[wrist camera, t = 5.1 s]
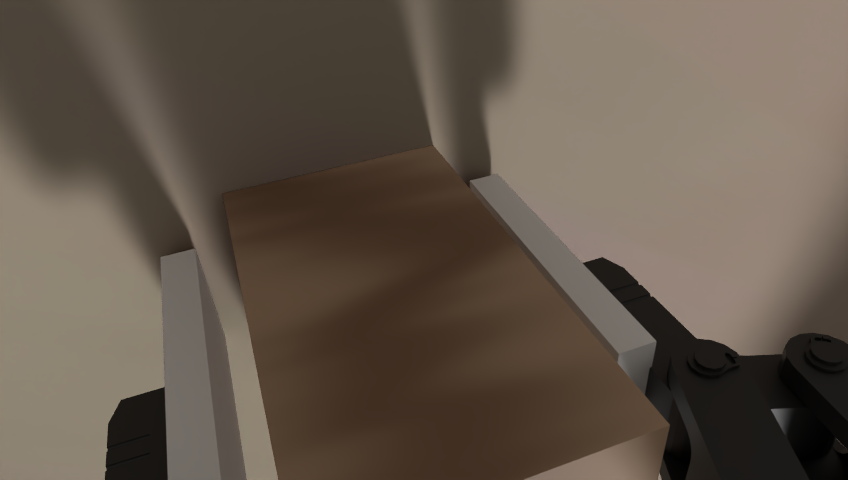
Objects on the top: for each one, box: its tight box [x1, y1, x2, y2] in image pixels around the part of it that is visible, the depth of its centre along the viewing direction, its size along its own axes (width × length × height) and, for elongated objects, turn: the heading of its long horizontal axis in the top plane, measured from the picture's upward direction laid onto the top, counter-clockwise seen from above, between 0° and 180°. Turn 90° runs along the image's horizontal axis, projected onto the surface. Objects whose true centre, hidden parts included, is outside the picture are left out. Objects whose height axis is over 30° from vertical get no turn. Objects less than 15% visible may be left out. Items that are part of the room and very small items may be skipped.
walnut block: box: [223, 145, 670, 480], centre depth 13 cm, size 5×5×9 cm
